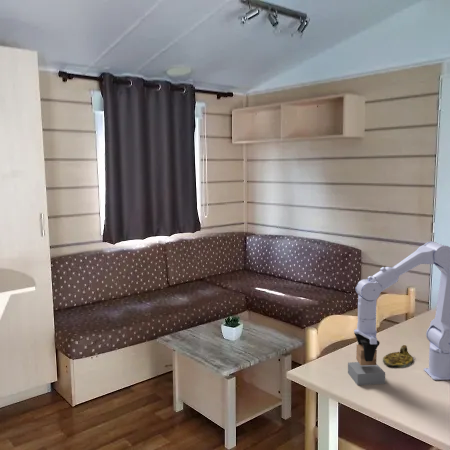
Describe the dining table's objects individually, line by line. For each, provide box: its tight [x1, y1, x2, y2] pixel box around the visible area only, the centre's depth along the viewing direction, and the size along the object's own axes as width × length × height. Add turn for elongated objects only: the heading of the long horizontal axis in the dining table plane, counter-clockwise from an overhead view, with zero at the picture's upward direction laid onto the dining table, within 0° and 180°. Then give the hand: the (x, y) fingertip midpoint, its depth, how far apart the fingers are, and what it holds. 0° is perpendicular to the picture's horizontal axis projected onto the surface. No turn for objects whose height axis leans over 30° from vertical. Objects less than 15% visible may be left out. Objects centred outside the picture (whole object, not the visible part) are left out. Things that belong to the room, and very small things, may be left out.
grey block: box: [347, 361, 386, 386], centre depth 155 cm, size 9×9×4 cm
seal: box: [382, 344, 414, 369], centre depth 168 cm, size 9×5×15 cm
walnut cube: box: [355, 344, 378, 365], centre depth 154 cm, size 5×5×5 cm
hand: (366, 357), depth 154 cm, fingers closed on walnut cube, 5 cm apart
